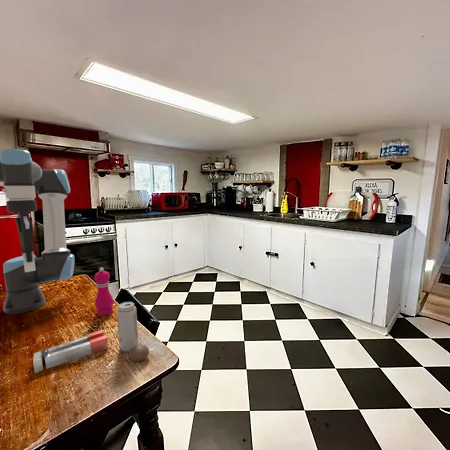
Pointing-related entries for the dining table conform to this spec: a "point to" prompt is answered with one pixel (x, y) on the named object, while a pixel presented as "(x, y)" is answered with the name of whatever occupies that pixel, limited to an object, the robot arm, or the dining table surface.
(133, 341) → the energy drink can
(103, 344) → the tongs fixed
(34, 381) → the dining table surface
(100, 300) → the pepper mill
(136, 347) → the egg
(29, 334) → the dining table surface
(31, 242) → the robot arm
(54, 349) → the tongs arm
